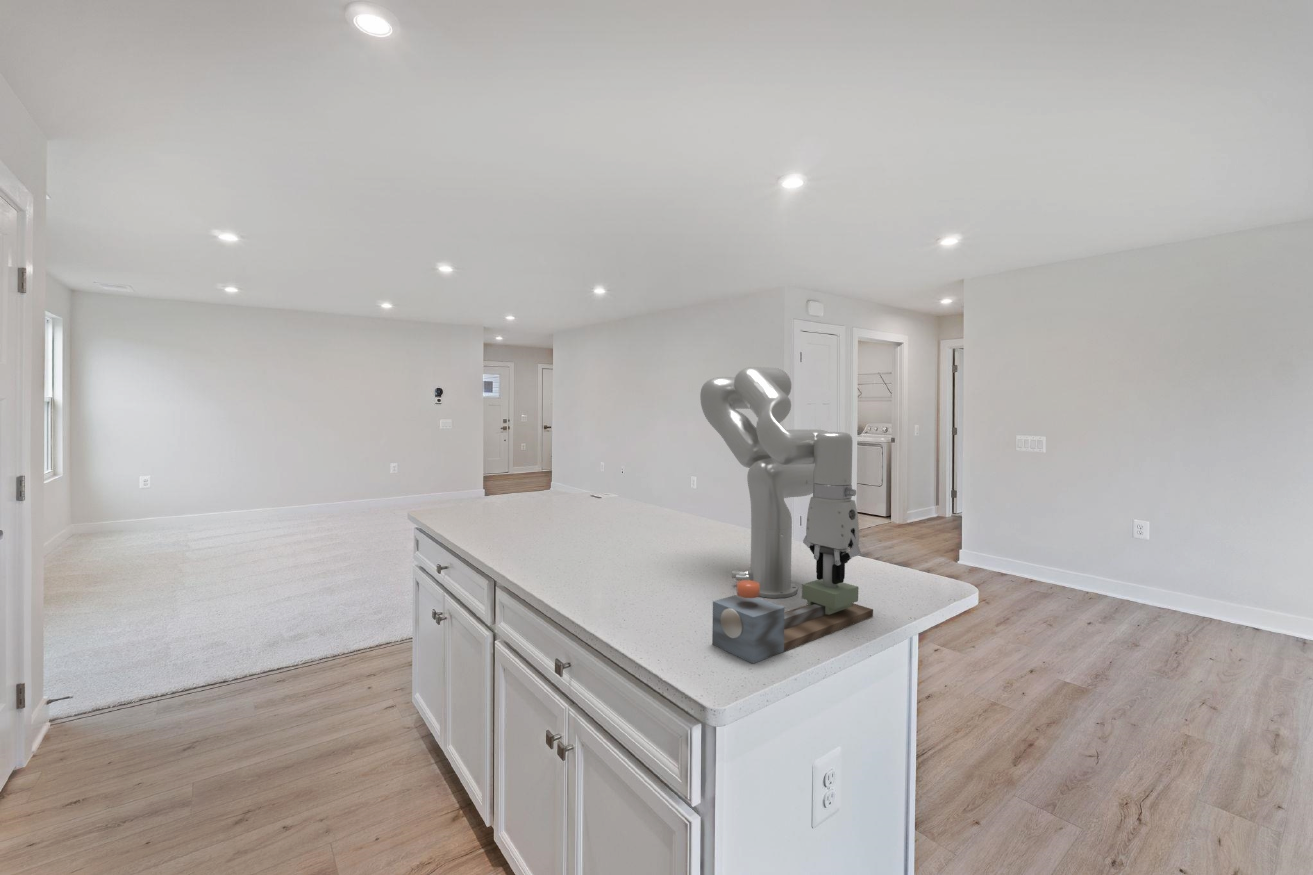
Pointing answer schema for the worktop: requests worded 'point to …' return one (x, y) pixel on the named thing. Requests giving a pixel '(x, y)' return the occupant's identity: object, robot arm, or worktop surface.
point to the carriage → (829, 588)
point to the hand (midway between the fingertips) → (830, 579)
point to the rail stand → (774, 625)
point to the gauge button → (748, 589)
